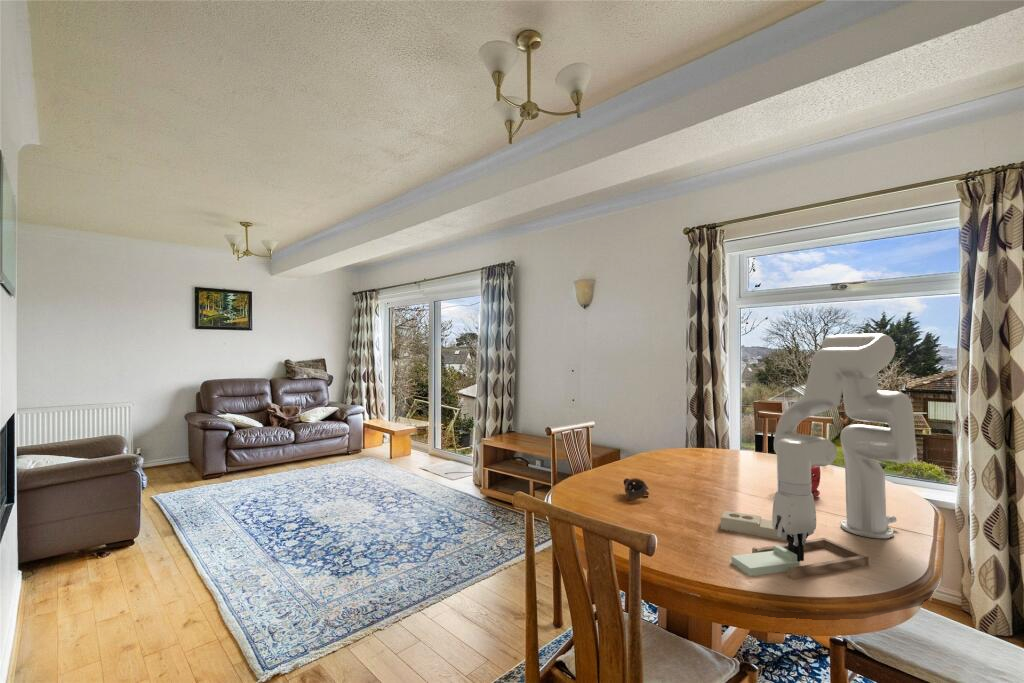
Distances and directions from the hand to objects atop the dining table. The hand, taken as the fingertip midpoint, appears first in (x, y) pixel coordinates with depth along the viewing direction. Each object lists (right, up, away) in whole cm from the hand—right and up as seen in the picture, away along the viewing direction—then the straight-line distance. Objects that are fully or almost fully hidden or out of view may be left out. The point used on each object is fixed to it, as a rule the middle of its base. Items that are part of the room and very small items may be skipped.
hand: (796, 558), depth 118 cm
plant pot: (+34, -2, +53) cm, 63 cm away
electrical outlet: (0, -2, +21) cm, 21 cm away
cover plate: (-9, -2, -1) cm, 9 cm away
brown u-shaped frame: (+4, -1, +1) cm, 4 cm away
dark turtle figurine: (-27, -3, +53) cm, 60 cm away
